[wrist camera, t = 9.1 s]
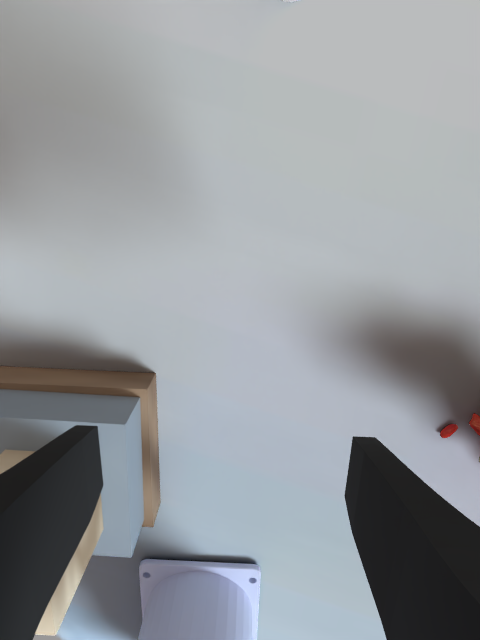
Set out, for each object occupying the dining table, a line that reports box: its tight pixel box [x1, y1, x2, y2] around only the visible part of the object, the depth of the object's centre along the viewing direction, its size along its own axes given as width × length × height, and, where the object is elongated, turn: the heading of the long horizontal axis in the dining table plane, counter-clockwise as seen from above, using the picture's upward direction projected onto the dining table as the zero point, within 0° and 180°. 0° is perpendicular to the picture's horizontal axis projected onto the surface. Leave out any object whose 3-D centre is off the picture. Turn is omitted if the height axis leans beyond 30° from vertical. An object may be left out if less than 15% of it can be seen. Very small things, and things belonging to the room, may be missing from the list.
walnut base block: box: [0, 366, 160, 527], centre depth 23 cm, size 9×9×2 cm
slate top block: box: [0, 389, 144, 558], centre depth 20 cm, size 8×8×2 cm
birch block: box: [0, 450, 104, 636], centre depth 17 cm, size 4×4×5 cm
